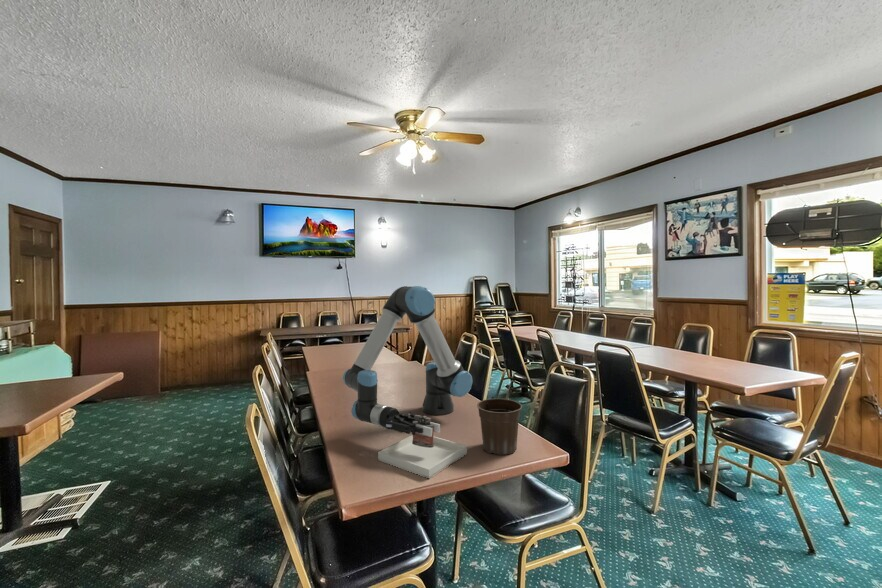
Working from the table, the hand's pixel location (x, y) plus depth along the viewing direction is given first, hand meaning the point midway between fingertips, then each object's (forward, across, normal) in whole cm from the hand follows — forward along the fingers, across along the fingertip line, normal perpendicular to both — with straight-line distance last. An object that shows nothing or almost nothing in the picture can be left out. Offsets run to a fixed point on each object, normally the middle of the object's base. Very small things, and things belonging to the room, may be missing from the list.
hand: (435, 430), depth 131 cm
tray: (-5, 0, -11) cm, 12 cm away
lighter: (-5, 0, -6) cm, 8 cm away
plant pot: (+13, -22, -11) cm, 28 cm away
